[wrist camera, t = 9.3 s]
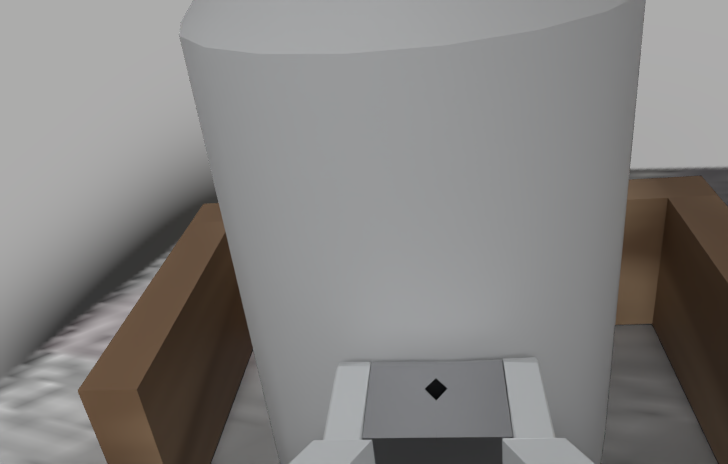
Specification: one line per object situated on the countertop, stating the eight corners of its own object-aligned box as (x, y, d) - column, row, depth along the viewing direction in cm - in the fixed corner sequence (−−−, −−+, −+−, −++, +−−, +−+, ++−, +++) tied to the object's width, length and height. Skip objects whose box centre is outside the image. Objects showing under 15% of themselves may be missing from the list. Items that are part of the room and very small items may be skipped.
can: (250, 397, 18) (129, -92, 12) (490, 314, 20) (482, -136, 14) (346, 659, 12) (190, -89, 6) (680, 498, 14) (799, -167, 8)
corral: (682, 298, 20) (701, 175, 18) (818, 534, 13) (873, 376, 11) (230, 313, 22) (203, 204, 20) (134, 528, 15) (77, 390, 13)
